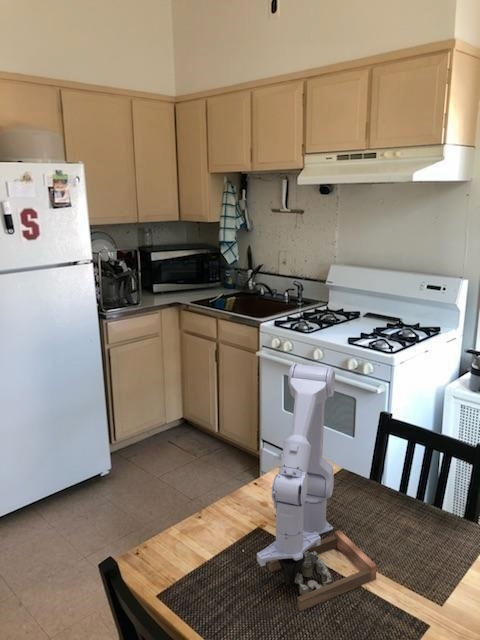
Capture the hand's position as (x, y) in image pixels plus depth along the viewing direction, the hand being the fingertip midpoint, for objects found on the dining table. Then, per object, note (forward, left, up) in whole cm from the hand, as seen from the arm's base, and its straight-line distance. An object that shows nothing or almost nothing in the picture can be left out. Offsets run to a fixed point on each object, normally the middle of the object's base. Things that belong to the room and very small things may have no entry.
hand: (289, 581), depth 112 cm
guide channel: (0, +8, -1) cm, 8 cm away
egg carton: (0, +5, -2) cm, 5 cm away
